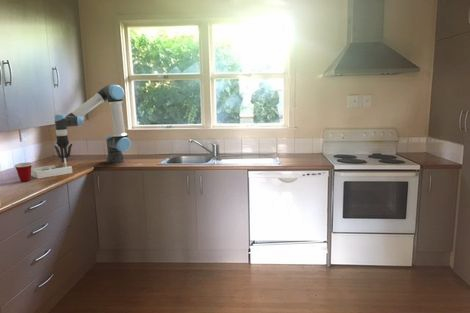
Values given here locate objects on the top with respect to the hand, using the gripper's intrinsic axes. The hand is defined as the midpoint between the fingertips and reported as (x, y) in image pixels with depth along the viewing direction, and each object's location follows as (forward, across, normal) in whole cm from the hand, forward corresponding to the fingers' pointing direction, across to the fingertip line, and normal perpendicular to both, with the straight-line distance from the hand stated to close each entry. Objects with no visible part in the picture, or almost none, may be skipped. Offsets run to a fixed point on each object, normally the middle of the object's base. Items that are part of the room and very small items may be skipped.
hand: (65, 166), depth 270 cm
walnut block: (+2, +4, 0) cm, 4 cm away
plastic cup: (+5, +29, +7) cm, 30 cm away
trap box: (+5, +9, -3) cm, 11 cm away
